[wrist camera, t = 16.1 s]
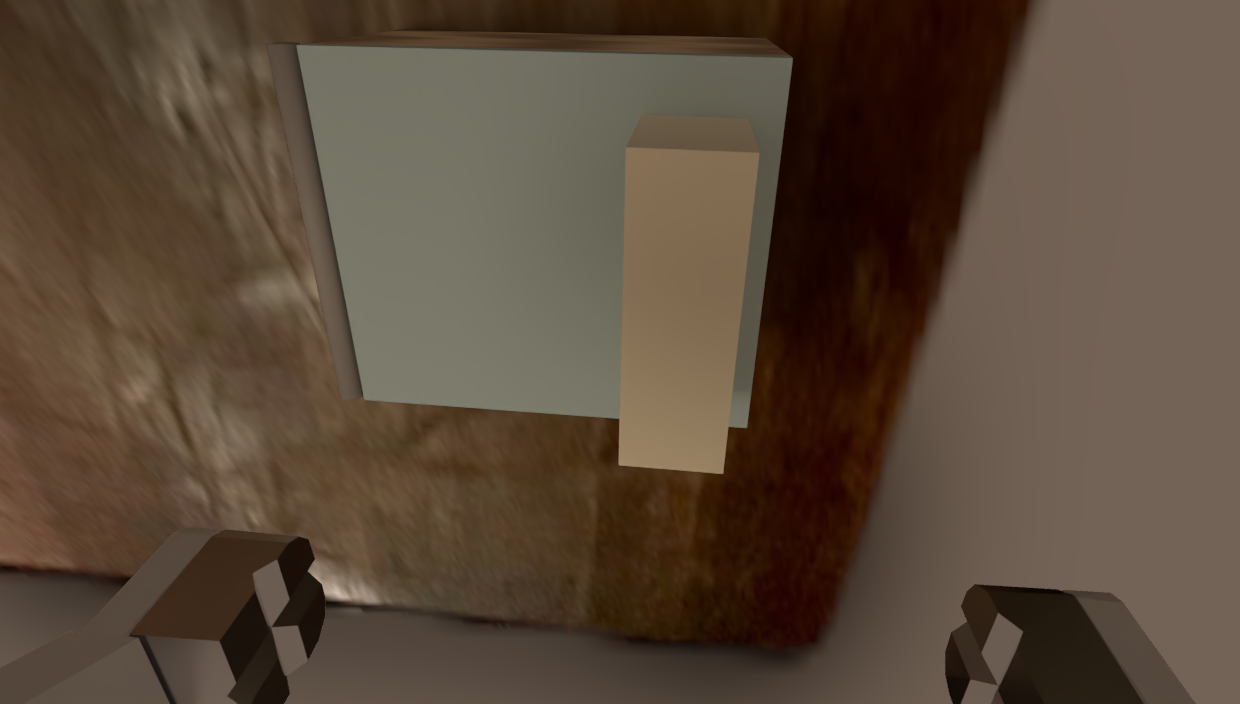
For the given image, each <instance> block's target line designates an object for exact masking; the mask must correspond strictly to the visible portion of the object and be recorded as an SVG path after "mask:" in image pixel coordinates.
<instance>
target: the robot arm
mask: <svg viewBox="0 0 1240 704" xmlns="http://www.w3.org/2000/svg"><path fill="white" fill-rule="evenodd" d="M314 560H315V557H314V554H313V551H312V548H311V545H310V542H309V540H308V539H305V538H302V537H299V536H288V535H278V534H268V533H258V532H248V531H238V530H227V529H225V530H220V529H210V528H200V527H189V526H187V527H185V528H183V529H181V530H179V531H176V532H174V533H173V534H172V535H171V536H170V537H169V538H168V539H167V540H166V541H165V542H164V543H163V544H162V545H161V547H160V548H159V549H158V550H157V551H156V552H155V553H154V554H153V555H152V556H151V557H150V558H149V559H148V561H147V562H146V563H145V564H144V565H143V566H142V567H141V568H140V569H139V570H138V571H137V572H136V574H135V575H134V576H133V577H132V578H131V579H130V580H129V581H128V582H127V583H126V584H125V585H124V586H123V588H122V589H121V590H120V591H119V592H118V593H117V594H116V595H115V596H114V597H113V598H112V599H111V600H110V602H109V603H108V604H107V605H106V606H105V607H104V608H103V609H102V610H101V611H100V612H99V613H98V615H97V616H96V617H95V618H94V619H93V620H92V621H91V622H90V623H89V624H88V625H87V627H85V629H84V630H83V631H82V632H67V633H65V634H63V635H61V636H59V637H57V638H55V639H53V640H51V641H50V642H48V643H46V644H44V645H42V646H40V647H39V648H36V649H35V650H33V651H31V652H29V653H27V654H25V655H24V656H22V657H20V658H18V659H16V660H14V661H12V662H10V663H8V664H7V665H5V666H3V667H1V668H0V704H284V703H285V702H286V700H287V698H288V696H289V694H290V691H289V685H288V680H287V675H289V674H290V673H291V672H293V671H294V670H296V669H297V668H298V667H300V666H301V665H303V664H304V663H305V662H307V661H308V660H309V658H310V656H311V654H312V652H313V650H314V648H315V646H316V644H317V642H318V641H319V637H320V634H321V630H322V626H323V623H324V619H325V595H324V591H323V587H322V584H321V583H320V582H319V581H318V580H317V579H315V578H314V577H313V576H312V575H311V574H310V573H309V572H308V569H309V568H310V566H311V564H312V563H313V561H314ZM961 608H962V610H963V612H964V615H965V617H966V619H967V622H966V623H964V624H963V625H962V626H960V627H959V628H957V629H956V630H954V631H953V632H951V635H950V639H949V642H948V645H947V648H946V652H945V675H946V681H947V685H948V690H949V695H950V697H951V700H952V703H953V704H1196V703H1195V702H1194V700H1193V699H1192V698H1191V696H1190V695H1189V693H1188V692H1187V691H1186V689H1185V688H1184V686H1183V685H1182V684H1181V682H1180V681H1179V680H1178V678H1177V677H1176V675H1175V674H1174V673H1173V671H1172V670H1171V668H1170V667H1169V666H1168V664H1167V663H1166V661H1165V660H1164V659H1163V657H1162V656H1161V654H1160V653H1159V652H1158V650H1157V649H1156V648H1155V646H1154V645H1153V643H1152V642H1151V641H1150V639H1149V638H1148V636H1147V635H1146V634H1145V632H1144V631H1143V630H1142V628H1141V627H1140V625H1139V624H1138V623H1137V621H1136V620H1135V618H1134V617H1133V616H1132V614H1131V613H1130V611H1129V610H1128V609H1127V607H1126V606H1125V604H1124V603H1123V602H1122V601H1121V600H1120V599H1118V598H1117V597H1115V596H1114V595H1113V594H1111V593H1104V592H1088V591H1073V590H1063V591H1060V590H1057V589H1043V588H1042V589H1041V588H1026V587H1010V586H1009V587H1008V586H993V585H978V584H975V585H974V586H972V587H971V588H970V589H969V590H968V591H967V593H966V595H965V598H964V600H963V603H962V605H961Z"/></svg>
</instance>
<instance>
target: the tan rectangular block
mask: <svg viewBox="0 0 1240 704" xmlns="http://www.w3.org/2000/svg"><path fill="white" fill-rule="evenodd" d="M759 154H760V152H759V149H758V147H757V144H756V141H755V138H754V135H753V132H752V129H751V126H750V123H749V120H748V119H746V118H719V117H693V116H667V115H641V117H640V119H639V121H638V123H637V125H636V127H635V129H634V131H633V133H632V135H631V138H630V140H629V142H628V144H627V146H626V160H625V205H624V249H623V293H622V338H621V382H620V427H619V465H622V466H634V467H646V468H658V469H670V470H683V471H695V472H707V473H719V474H723V469H724V461H725V452H726V443H727V434H728V426H729V417H730V408H731V399H732V391H733V382H734V373H735V364H736V356H737V347H738V338H739V329H740V321H741V312H742V303H743V294H744V285H745V277H746V268H747V259H748V250H749V242H750V233H751V224H752V215H753V207H754V198H755V189H756V180H757V172H758V163H759Z"/></svg>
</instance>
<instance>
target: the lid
mask: <svg viewBox="0 0 1240 704" xmlns="http://www.w3.org/2000/svg"><path fill="white" fill-rule="evenodd" d="M266 46H267V51H268V56H269V61H270V65H271V70H272V75H273V80H274V84H275V89H276V94H277V99H278V103H279V108H280V113H281V117H282V122H283V127H284V132H285V136H286V141H287V146H288V151H289V155H290V160H291V165H292V170H293V174H294V179H295V184H296V188H297V193H298V198H299V203H300V207H301V212H302V217H303V222H304V226H305V231H306V236H307V241H308V245H309V250H310V255H311V259H312V264H313V269H314V274H315V278H316V283H317V288H318V293H319V297H320V302H321V307H322V312H323V316H324V321H325V326H326V330H327V335H328V340H329V345H330V349H331V354H332V359H333V364H334V368H335V373H336V378H337V383H338V387H339V392H340V397H341V398H342V399H344V400H355V399H359V398H361V397H363V396H364V400H373V401H386V402H400V403H413V404H427V405H441V406H454V407H468V408H481V409H495V410H508V411H522V412H536V413H549V414H563V415H576V416H590V417H603V418H617V419H620V382H621V338H622V293H623V249H624V205H625V160H626V146H627V144H628V142H629V140H630V138H631V135H632V133H633V131H634V129H635V127H636V125H637V123H638V121H639V119H640V117H641V115H667V116H693V117H719V118H746V119H748V120H749V123H750V126H751V129H752V132H753V135H754V138H755V141H756V144H757V147H758V149H759V152H760V154H759V163H758V172H757V180H756V189H755V198H754V207H753V215H752V224H751V233H750V242H749V250H748V259H747V268H746V277H745V285H744V294H743V303H742V312H741V321H740V329H739V338H738V347H737V356H736V364H735V373H734V382H733V391H732V399H731V408H730V417H729V426H728V427H739V428H747V422H748V414H749V406H750V398H751V390H752V382H753V374H754V366H755V358H756V350H757V342H758V334H759V326H760V318H761V310H762V302H763V294H764V286H765V278H766V270H767V262H768V254H769V246H770V238H771V230H772V222H773V214H774V206H775V198H776V190H777V182H778V174H779V166H780V158H781V150H782V142H783V134H784V126H785V118H786V110H787V102H788V94H789V86H790V78H791V70H792V62H793V58H792V57H791V56H790V55H752V54H714V53H675V52H636V51H597V50H559V49H520V48H481V47H443V46H404V45H365V44H326V43H308V44H301V45H300V43H267V44H266Z"/></svg>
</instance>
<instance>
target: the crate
mask: <svg viewBox="0 0 1240 704" xmlns="http://www.w3.org/2000/svg"><path fill="white" fill-rule="evenodd" d="M314 43H326V44H365V45H404V46H443V47H481V48H520V49H559V50H597V51H636V52H675V53H714V54H752V55H788V54H787V53H786V52H784V51H783V50H782V49H780V48H779V47H777V46H776V45H775V44H773V43H772V42H771V41H769V40H768V39H766V38H738V37H694V36H651V35H607V34H563V33H520V32H476V31H433V30H395V31H389V32H382V33H375V34H368V35H362V36H355V37H348V38H341V39H335V40H328V41H321V42H314Z"/></svg>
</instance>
